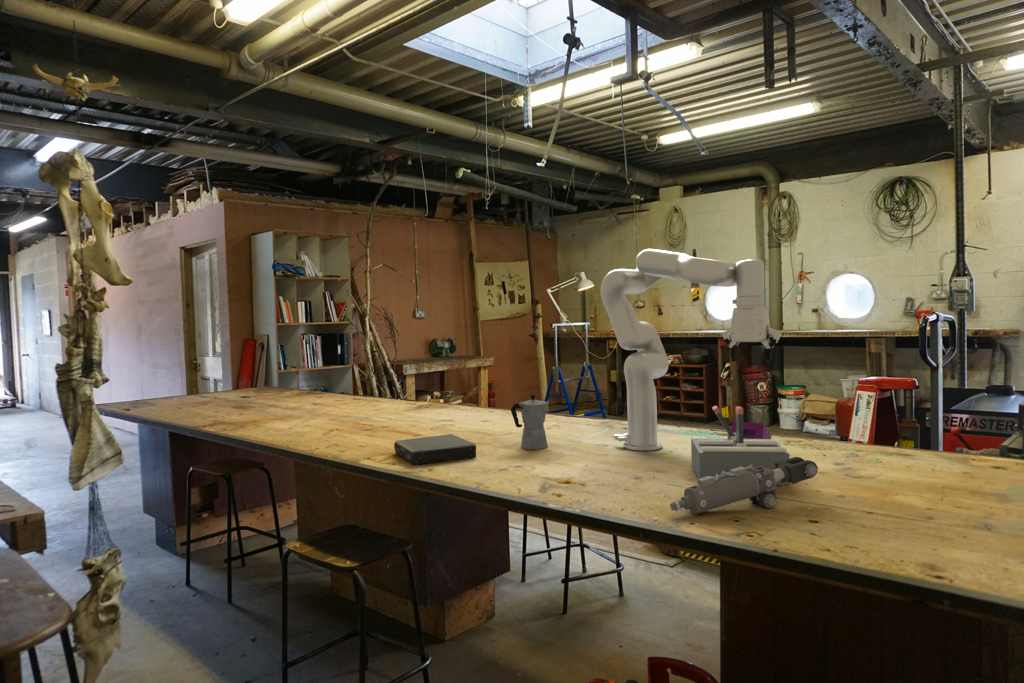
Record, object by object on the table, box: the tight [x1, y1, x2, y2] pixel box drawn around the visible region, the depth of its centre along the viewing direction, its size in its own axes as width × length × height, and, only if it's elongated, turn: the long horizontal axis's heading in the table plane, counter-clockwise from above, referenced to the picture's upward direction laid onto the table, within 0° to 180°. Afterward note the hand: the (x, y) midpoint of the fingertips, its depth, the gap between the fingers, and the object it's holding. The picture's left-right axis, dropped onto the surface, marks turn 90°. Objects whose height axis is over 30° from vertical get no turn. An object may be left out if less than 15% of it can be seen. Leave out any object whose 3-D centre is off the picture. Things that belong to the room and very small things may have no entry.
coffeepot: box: [510, 393, 550, 451], centre depth 212 cm, size 15×9×18 cm, turn 122°
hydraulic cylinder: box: [669, 456, 819, 515], centre depth 142 cm, size 7×37×10 cm, turn 106°
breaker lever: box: [735, 405, 744, 445], centre depth 166 cm, size 1×4×11 cm, turn 170°
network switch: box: [393, 433, 477, 466], centre depth 204 cm, size 23×23×5 cm
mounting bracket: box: [731, 421, 772, 439], centre depth 202 cm, size 10×8×18 cm
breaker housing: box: [690, 405, 791, 486], centre depth 170 cm, size 22×19×18 cm
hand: (750, 361), depth 182 cm, fingers open, 9 cm apart
